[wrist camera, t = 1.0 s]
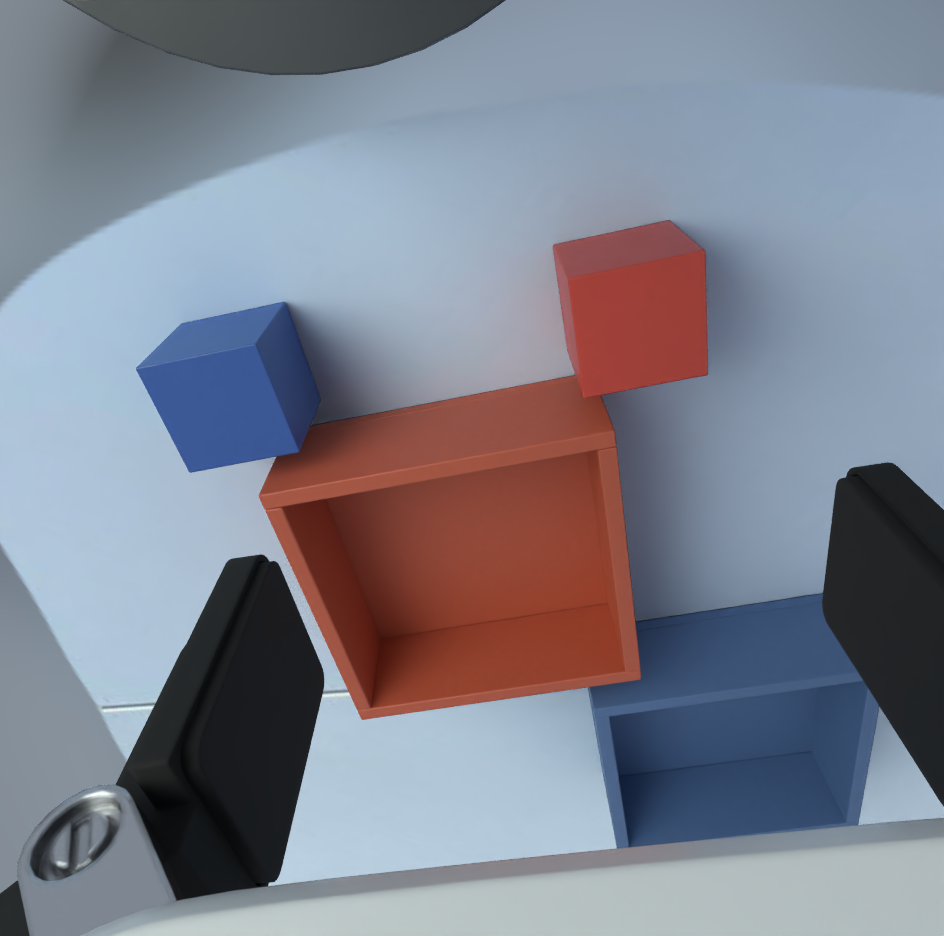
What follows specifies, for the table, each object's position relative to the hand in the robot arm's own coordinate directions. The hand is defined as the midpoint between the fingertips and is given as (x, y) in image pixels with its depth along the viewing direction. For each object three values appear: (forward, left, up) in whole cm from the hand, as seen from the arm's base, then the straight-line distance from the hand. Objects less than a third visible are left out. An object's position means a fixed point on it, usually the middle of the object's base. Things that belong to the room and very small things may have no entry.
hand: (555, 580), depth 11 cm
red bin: (+11, -4, -17) cm, 21 cm away
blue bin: (+26, +7, -17) cm, 32 cm away
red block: (+1, +4, -17) cm, 18 cm away
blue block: (+1, -11, -17) cm, 20 cm away
